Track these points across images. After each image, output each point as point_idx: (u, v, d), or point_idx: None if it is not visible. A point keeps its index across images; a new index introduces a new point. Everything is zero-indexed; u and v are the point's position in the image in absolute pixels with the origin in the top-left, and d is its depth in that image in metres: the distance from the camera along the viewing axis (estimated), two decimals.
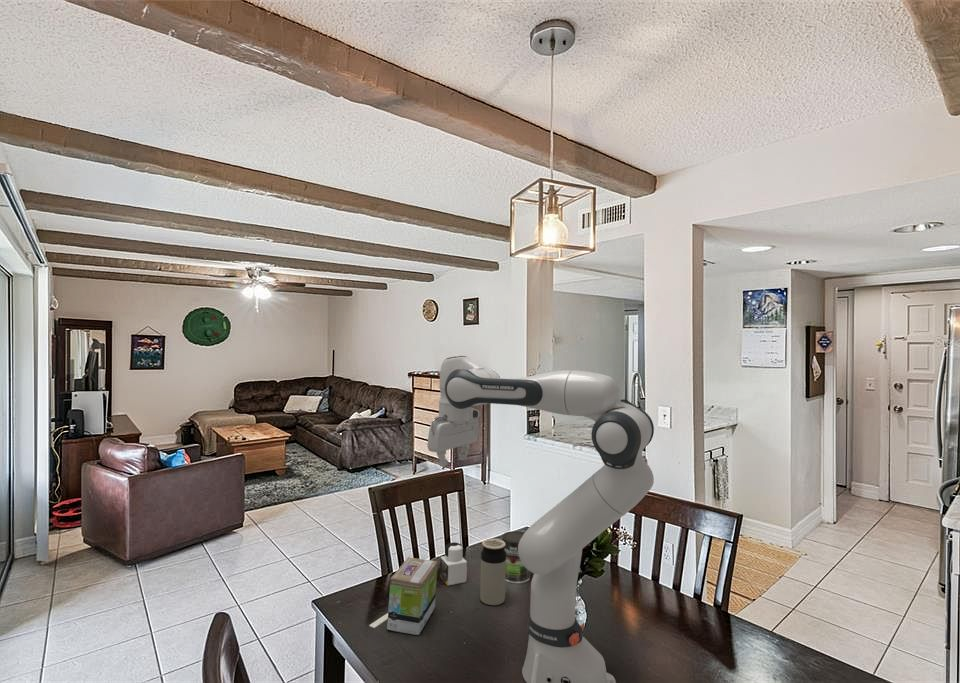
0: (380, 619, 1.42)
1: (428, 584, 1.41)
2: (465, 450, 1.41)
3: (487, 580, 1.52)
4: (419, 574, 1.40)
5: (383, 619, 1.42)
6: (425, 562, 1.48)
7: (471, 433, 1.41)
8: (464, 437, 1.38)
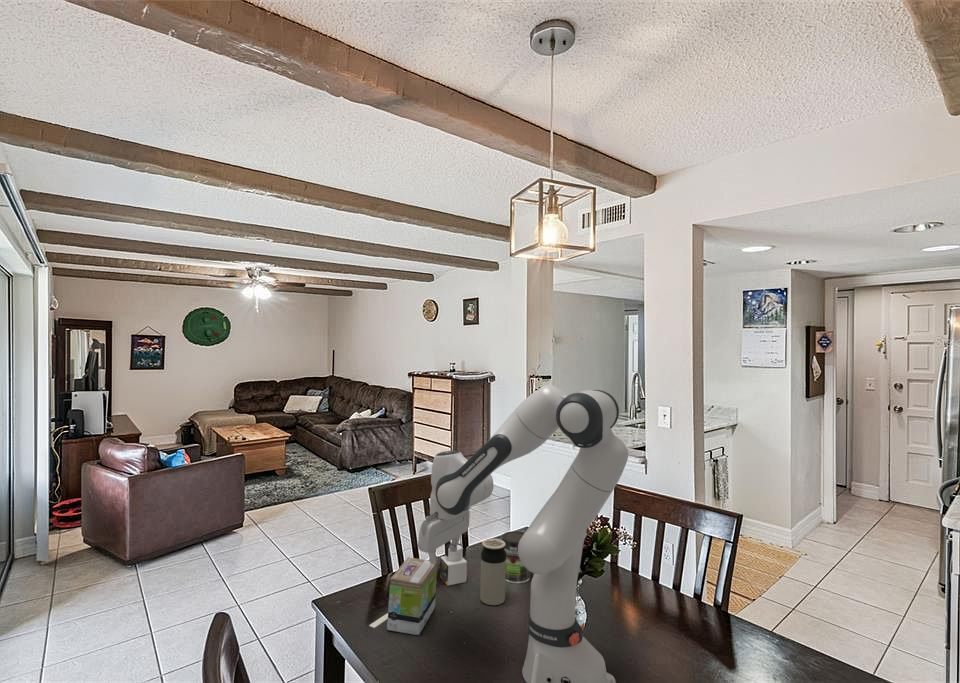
0: (380, 619, 1.42)
1: (428, 584, 1.41)
2: (456, 541, 1.42)
3: (487, 580, 1.52)
4: (419, 574, 1.40)
5: (383, 619, 1.42)
6: (425, 562, 1.48)
7: (462, 524, 1.42)
8: (455, 530, 1.39)
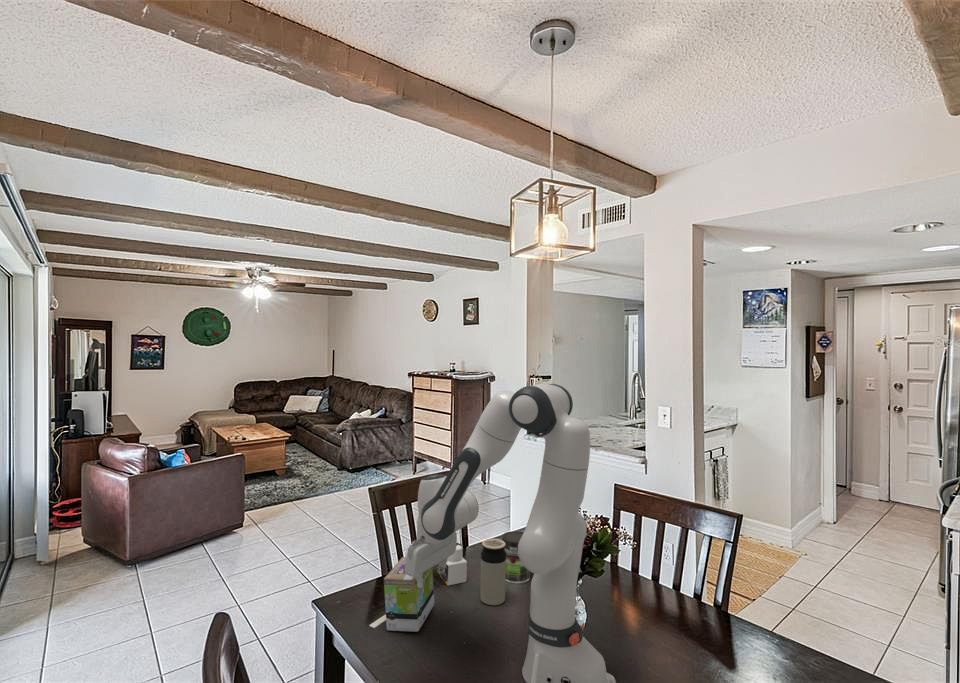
0: (380, 619, 1.42)
1: None
2: (443, 564, 1.44)
3: (487, 580, 1.52)
4: None
5: (383, 619, 1.42)
6: None
7: (449, 547, 1.44)
8: (442, 553, 1.41)
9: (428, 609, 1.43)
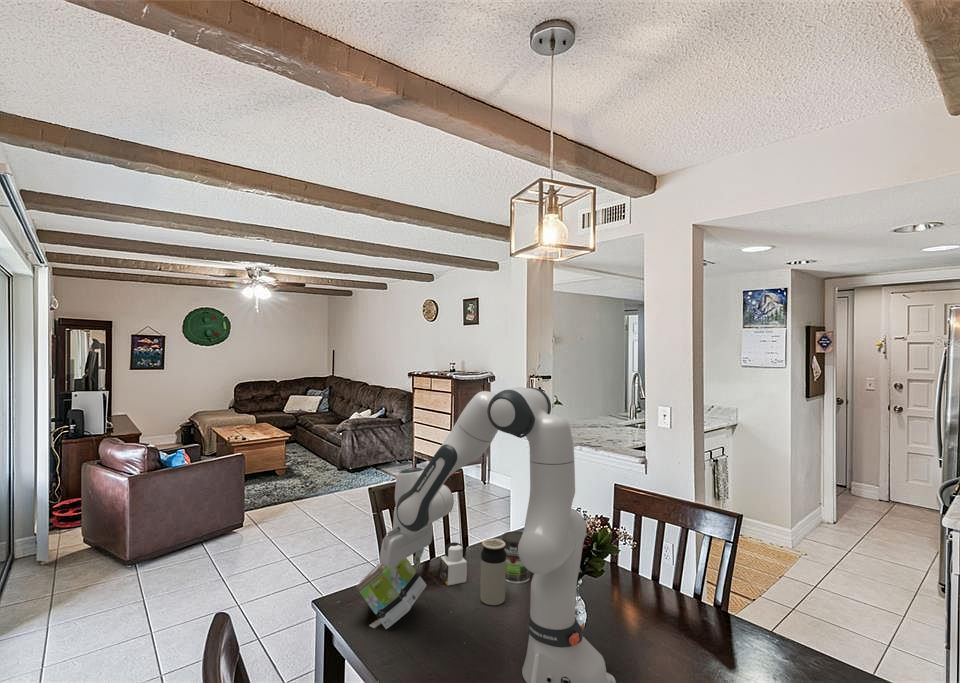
0: None
1: None
2: (419, 554, 1.48)
3: (487, 580, 1.52)
4: (379, 565, 1.42)
5: None
6: None
7: (424, 538, 1.48)
8: (417, 544, 1.45)
9: (417, 590, 1.44)
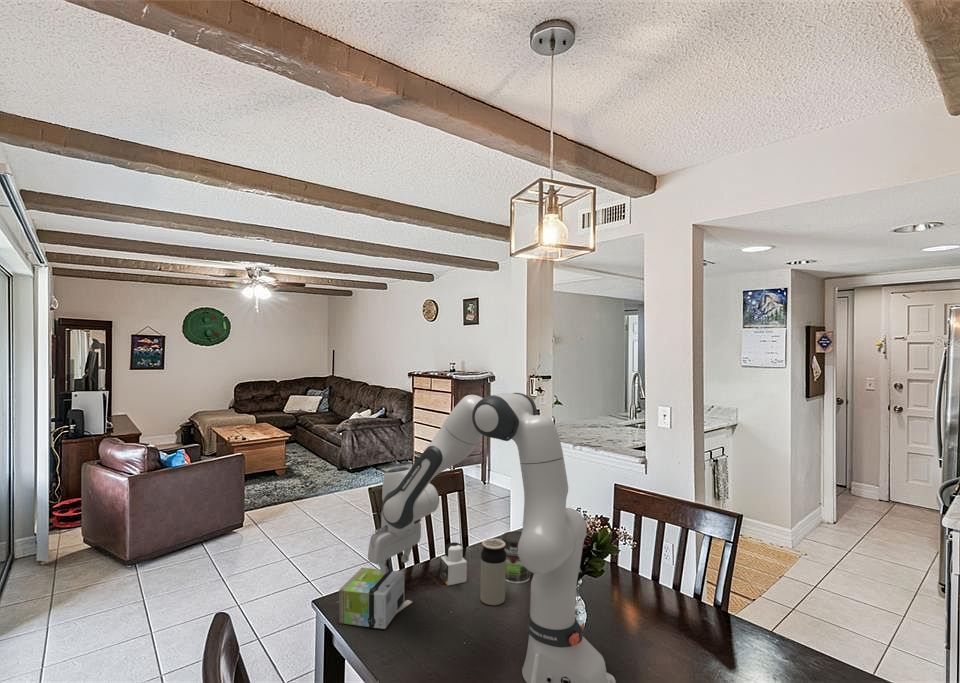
0: None
1: (358, 580, 1.45)
2: (407, 552, 1.51)
3: (487, 580, 1.52)
4: None
5: None
6: None
7: (413, 536, 1.51)
8: (406, 542, 1.48)
9: (392, 579, 1.46)
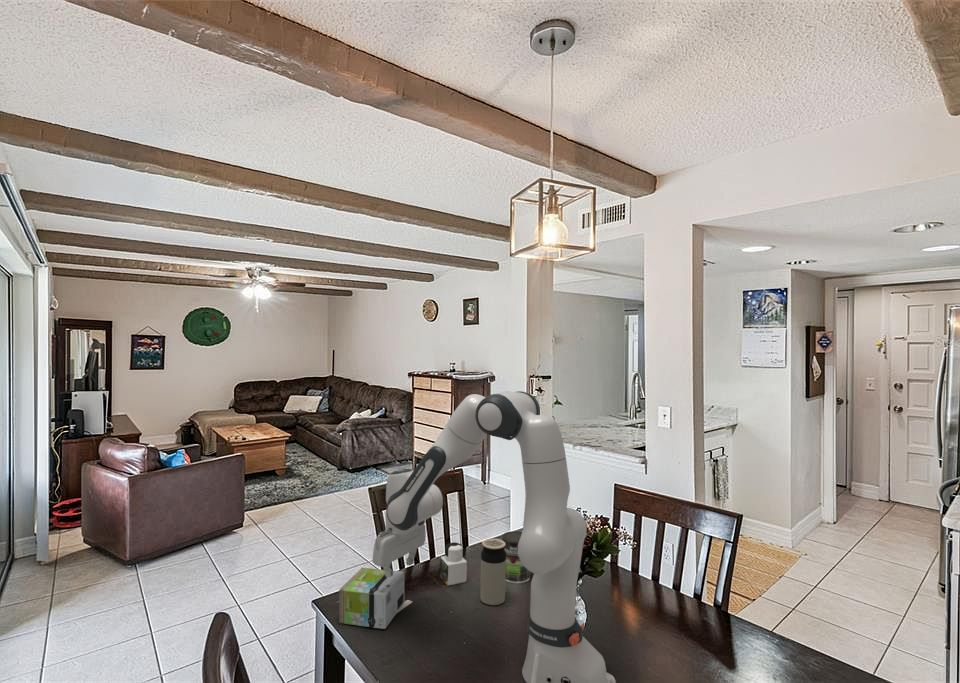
0: None
1: (358, 580, 1.45)
2: (412, 555, 1.50)
3: (487, 580, 1.52)
4: None
5: None
6: None
7: (417, 538, 1.50)
8: (410, 544, 1.47)
9: (392, 579, 1.46)
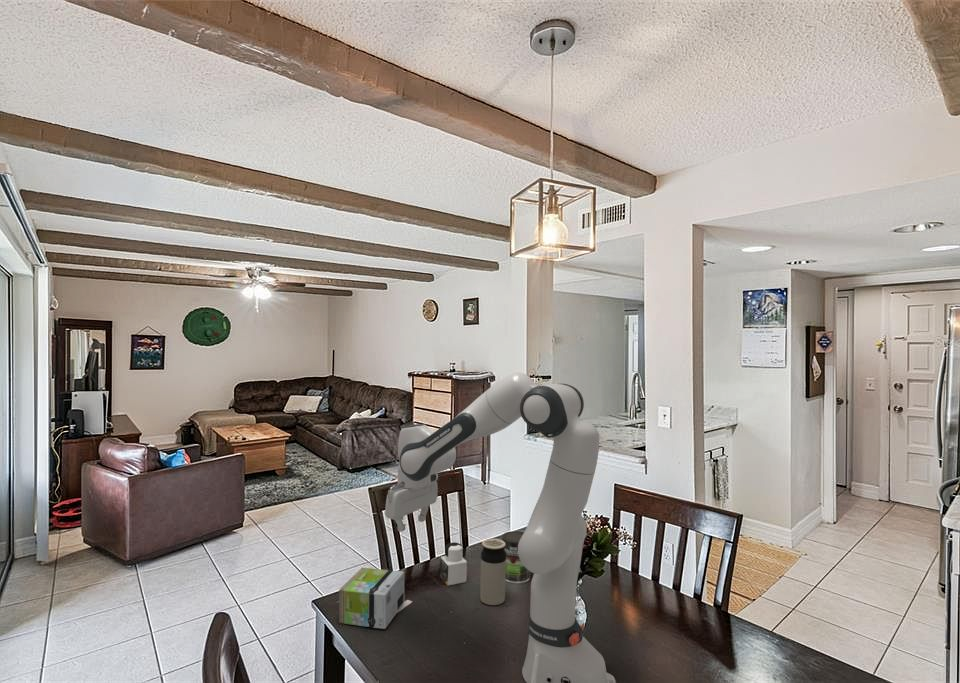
0: None
1: (358, 580, 1.45)
2: (424, 512, 1.48)
3: (487, 580, 1.52)
4: None
5: None
6: None
7: (429, 495, 1.48)
8: (422, 500, 1.45)
9: (392, 579, 1.46)
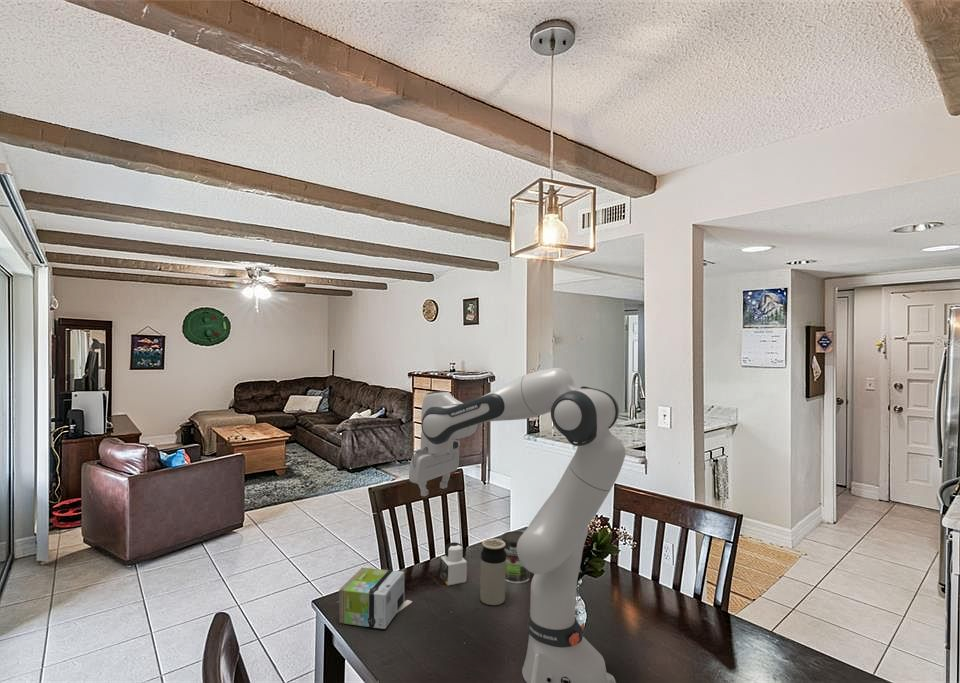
0: None
1: (358, 580, 1.45)
2: (446, 479, 1.49)
3: (487, 580, 1.52)
4: None
5: None
6: None
7: (451, 462, 1.49)
8: (445, 467, 1.46)
9: (392, 579, 1.46)
